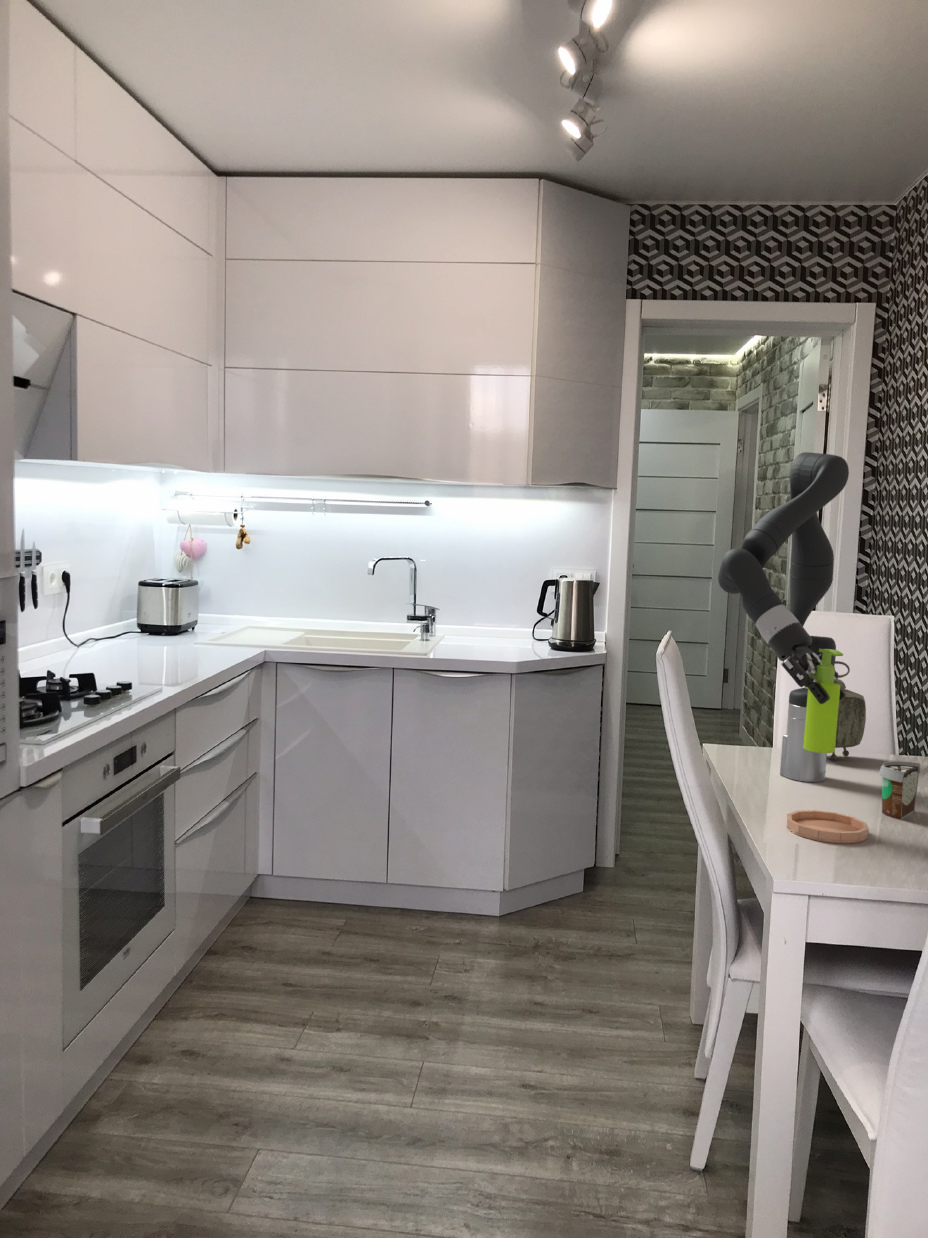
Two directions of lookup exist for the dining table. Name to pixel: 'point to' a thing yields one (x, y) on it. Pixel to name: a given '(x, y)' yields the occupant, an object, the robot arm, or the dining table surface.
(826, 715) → the soap dispenser
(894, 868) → the dining table surface
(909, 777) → the food container
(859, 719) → the tabletop clock
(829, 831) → the terracotta dish
